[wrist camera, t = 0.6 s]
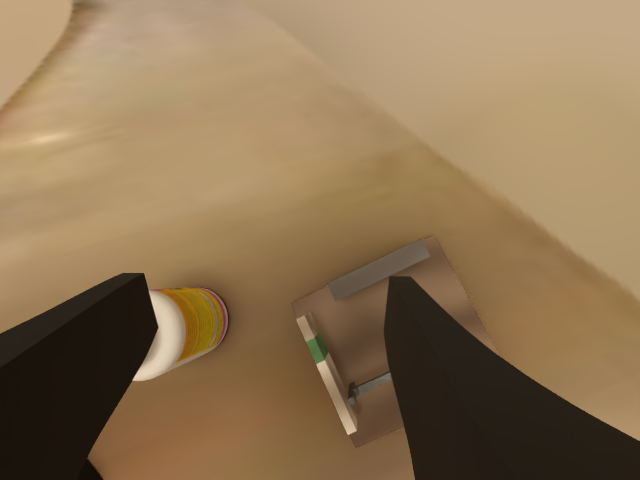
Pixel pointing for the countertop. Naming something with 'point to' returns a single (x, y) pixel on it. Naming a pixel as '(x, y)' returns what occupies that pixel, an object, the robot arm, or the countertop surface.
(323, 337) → the base
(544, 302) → the countertop surface
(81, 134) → the countertop surface
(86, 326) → the robot arm
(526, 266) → the countertop surface
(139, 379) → the supplement bottle
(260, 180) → the countertop surface
